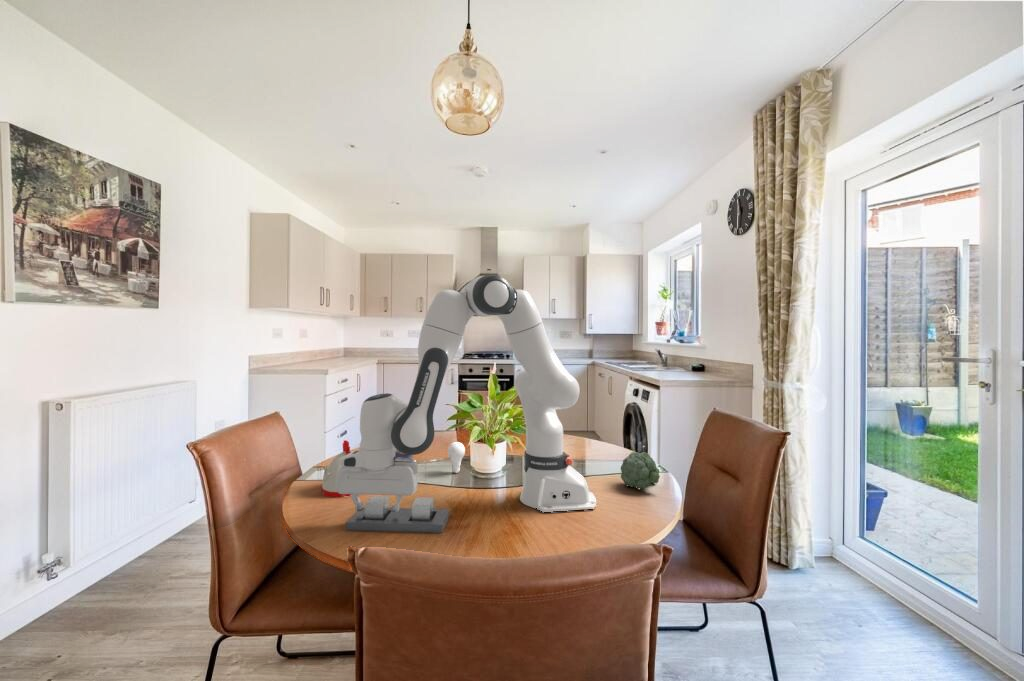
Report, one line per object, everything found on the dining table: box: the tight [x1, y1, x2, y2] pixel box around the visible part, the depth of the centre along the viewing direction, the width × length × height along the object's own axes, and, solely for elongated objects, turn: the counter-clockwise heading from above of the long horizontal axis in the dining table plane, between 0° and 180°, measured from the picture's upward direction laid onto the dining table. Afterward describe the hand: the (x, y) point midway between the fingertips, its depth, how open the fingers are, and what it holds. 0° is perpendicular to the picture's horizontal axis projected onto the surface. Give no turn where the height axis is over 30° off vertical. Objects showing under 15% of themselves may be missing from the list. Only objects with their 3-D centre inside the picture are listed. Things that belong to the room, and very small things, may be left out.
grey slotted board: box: [345, 506, 450, 534], centre depth 103 cm, size 24×9×2 cm, turn 88°
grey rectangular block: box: [364, 495, 390, 521], centre depth 104 cm, size 4×4×6 cm
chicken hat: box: [321, 439, 352, 498], centre depth 127 cm, size 14×14×15 cm
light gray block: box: [411, 496, 435, 522], centre depth 103 cm, size 4×4×6 cm
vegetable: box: [620, 451, 660, 490], centre depth 132 cm, size 12×13×15 cm
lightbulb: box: [447, 441, 466, 474], centre depth 143 cm, size 6×6×11 cm
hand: (377, 510), depth 104 cm, fingers open, 8 cm apart
